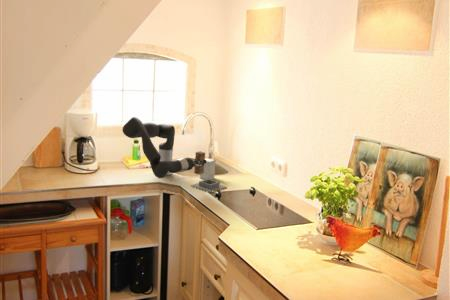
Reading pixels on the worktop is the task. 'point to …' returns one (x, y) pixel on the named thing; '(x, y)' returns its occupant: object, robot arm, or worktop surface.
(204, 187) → the well board
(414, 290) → the worktop surface
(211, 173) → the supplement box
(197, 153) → the walnut post
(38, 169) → the worktop surface
